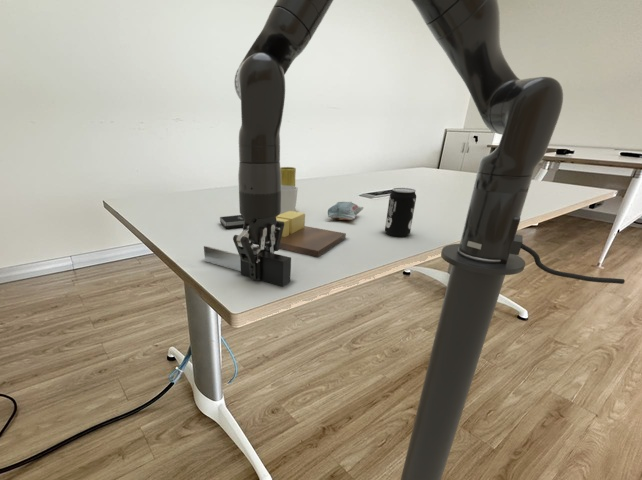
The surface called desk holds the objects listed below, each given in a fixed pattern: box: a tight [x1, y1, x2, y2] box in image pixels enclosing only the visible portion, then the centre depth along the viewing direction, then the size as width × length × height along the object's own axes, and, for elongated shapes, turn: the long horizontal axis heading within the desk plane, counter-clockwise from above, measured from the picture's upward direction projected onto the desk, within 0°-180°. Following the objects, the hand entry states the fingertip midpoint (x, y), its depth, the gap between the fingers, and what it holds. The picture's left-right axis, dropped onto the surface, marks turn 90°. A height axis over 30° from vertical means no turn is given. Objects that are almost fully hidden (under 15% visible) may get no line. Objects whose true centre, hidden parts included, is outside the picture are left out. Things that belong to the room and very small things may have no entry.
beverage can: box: [384, 187, 417, 238], centre depth 92 cm, size 7×7×12 cm
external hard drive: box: [219, 214, 244, 229], centre depth 101 cm, size 7×11×2 cm, turn 113°
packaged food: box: [327, 201, 364, 221], centre depth 108 cm, size 9×12×5 cm
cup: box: [279, 185, 299, 215], centre depth 104 cm, size 8×8×10 cm
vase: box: [280, 166, 297, 212], centre depth 113 cm, size 6×6×14 cm
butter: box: [276, 211, 306, 234], centre depth 92 cm, size 5×7×4 cm
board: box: [274, 225, 347, 258], centre depth 88 cm, size 18×16×2 cm
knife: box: [203, 245, 292, 288], centre depth 69 cm, size 21×3×5 cm, turn 56°
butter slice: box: [276, 218, 289, 237], centre depth 88 cm, size 5×2×4 cm, turn 57°
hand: (261, 276), depth 68 cm, fingers closed on knife, 3 cm apart
